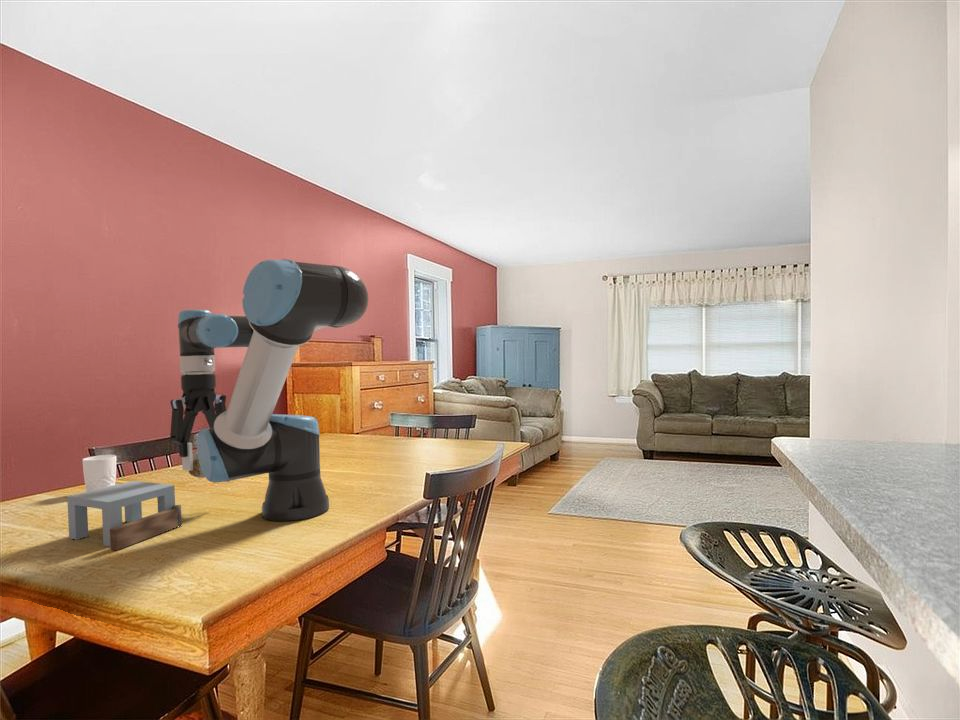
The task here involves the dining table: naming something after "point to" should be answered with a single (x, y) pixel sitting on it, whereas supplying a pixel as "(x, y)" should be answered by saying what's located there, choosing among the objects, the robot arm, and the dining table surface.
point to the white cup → (99, 471)
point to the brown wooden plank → (145, 528)
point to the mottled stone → (196, 467)
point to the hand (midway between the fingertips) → (202, 466)
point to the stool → (115, 505)
